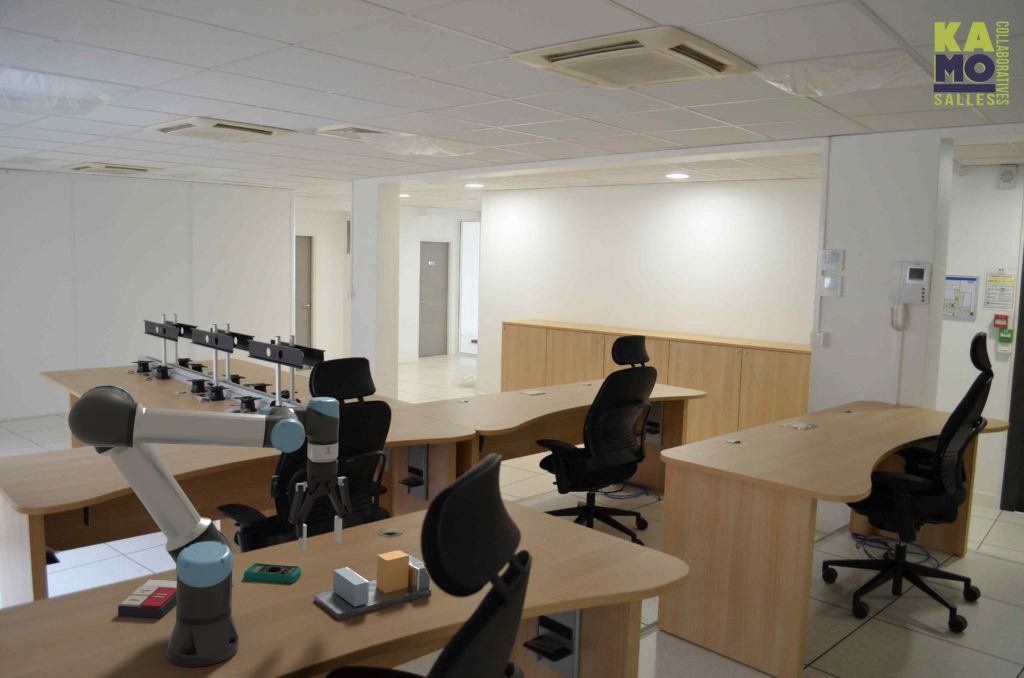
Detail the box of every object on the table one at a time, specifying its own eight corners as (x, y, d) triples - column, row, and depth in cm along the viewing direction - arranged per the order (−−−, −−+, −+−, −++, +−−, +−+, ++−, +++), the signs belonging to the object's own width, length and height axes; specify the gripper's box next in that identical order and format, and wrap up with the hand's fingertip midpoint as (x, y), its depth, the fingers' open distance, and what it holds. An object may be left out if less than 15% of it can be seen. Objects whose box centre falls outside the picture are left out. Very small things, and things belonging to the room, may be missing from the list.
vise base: (338, 619, 190) (339, 590, 190) (313, 600, 201) (314, 572, 200) (431, 594, 208) (432, 567, 208) (404, 577, 219) (405, 552, 218)
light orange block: (385, 593, 204) (386, 560, 203) (376, 586, 208) (377, 554, 207) (407, 587, 208) (409, 555, 208) (398, 581, 212) (399, 549, 211)
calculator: (117, 603, 186) (148, 577, 201) (117, 620, 187) (148, 592, 202) (160, 606, 186) (188, 579, 201) (161, 622, 187) (189, 594, 201)
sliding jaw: (354, 606, 194) (355, 585, 194) (333, 590, 203) (333, 570, 203) (368, 602, 197) (369, 581, 196) (346, 587, 206) (347, 566, 205)
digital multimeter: (294, 585, 211) (294, 574, 211) (242, 581, 212) (242, 570, 212) (303, 575, 218) (303, 565, 218) (252, 571, 219) (253, 561, 219)
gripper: (287, 467, 181) (285, 558, 183) (368, 457, 195) (365, 541, 197) (275, 460, 187) (273, 549, 189) (354, 451, 201) (351, 533, 203)
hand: (320, 545), depth 193 cm, fingers open, 9 cm apart
